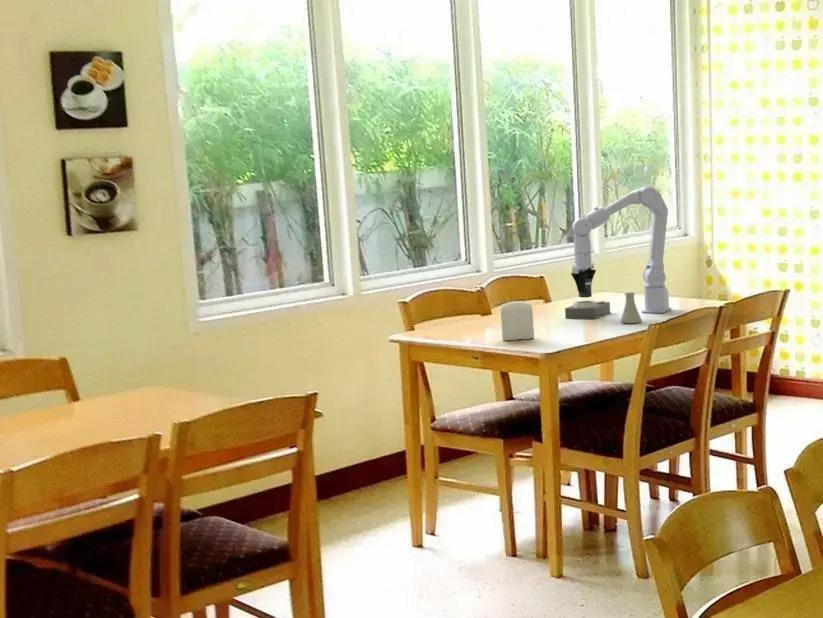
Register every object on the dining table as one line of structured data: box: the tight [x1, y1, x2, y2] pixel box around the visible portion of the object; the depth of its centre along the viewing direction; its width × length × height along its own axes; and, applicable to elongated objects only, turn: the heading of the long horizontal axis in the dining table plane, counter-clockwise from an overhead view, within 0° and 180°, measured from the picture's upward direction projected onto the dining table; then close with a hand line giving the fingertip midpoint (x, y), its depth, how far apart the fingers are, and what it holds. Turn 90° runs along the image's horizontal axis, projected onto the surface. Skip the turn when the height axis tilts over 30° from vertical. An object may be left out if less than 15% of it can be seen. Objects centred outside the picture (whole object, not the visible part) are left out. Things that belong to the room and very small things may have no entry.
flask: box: [619, 292, 642, 325], centre depth 410 cm, size 7×7×10 cm
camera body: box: [564, 300, 611, 320], centre depth 432 cm, size 14×11×5 cm
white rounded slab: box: [500, 300, 535, 341], centre depth 392 cm, size 10×4×12 cm, turn 91°
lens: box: [578, 279, 593, 298], centre depth 429 cm, size 5×5×6 cm
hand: (584, 291), depth 429 cm, fingers closed on lens, 5 cm apart
